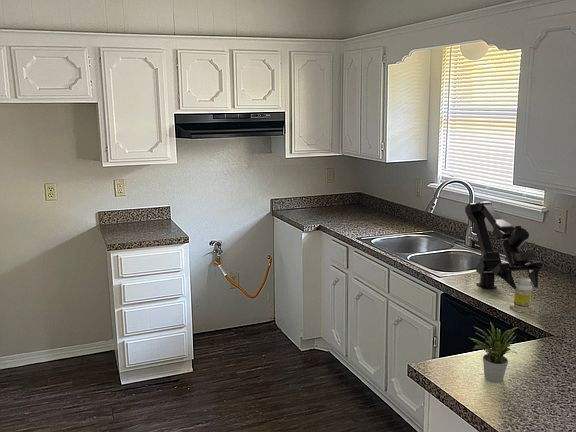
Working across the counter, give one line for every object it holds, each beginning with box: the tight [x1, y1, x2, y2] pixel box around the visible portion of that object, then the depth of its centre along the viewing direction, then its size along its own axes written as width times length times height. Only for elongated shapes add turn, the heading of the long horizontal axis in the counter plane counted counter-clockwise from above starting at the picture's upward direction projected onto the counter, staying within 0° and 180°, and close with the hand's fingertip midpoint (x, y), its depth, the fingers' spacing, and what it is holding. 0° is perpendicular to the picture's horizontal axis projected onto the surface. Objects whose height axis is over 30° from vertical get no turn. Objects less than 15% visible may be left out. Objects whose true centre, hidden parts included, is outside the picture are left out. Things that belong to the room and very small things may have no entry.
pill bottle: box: [513, 277, 533, 309], centre depth 228 cm, size 6×6×11 cm
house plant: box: [469, 321, 519, 383], centre depth 173 cm, size 14×14×16 cm
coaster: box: [509, 302, 536, 313], centre depth 229 cm, size 9×9×1 cm
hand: (526, 288), depth 226 cm, fingers open, 9 cm apart
